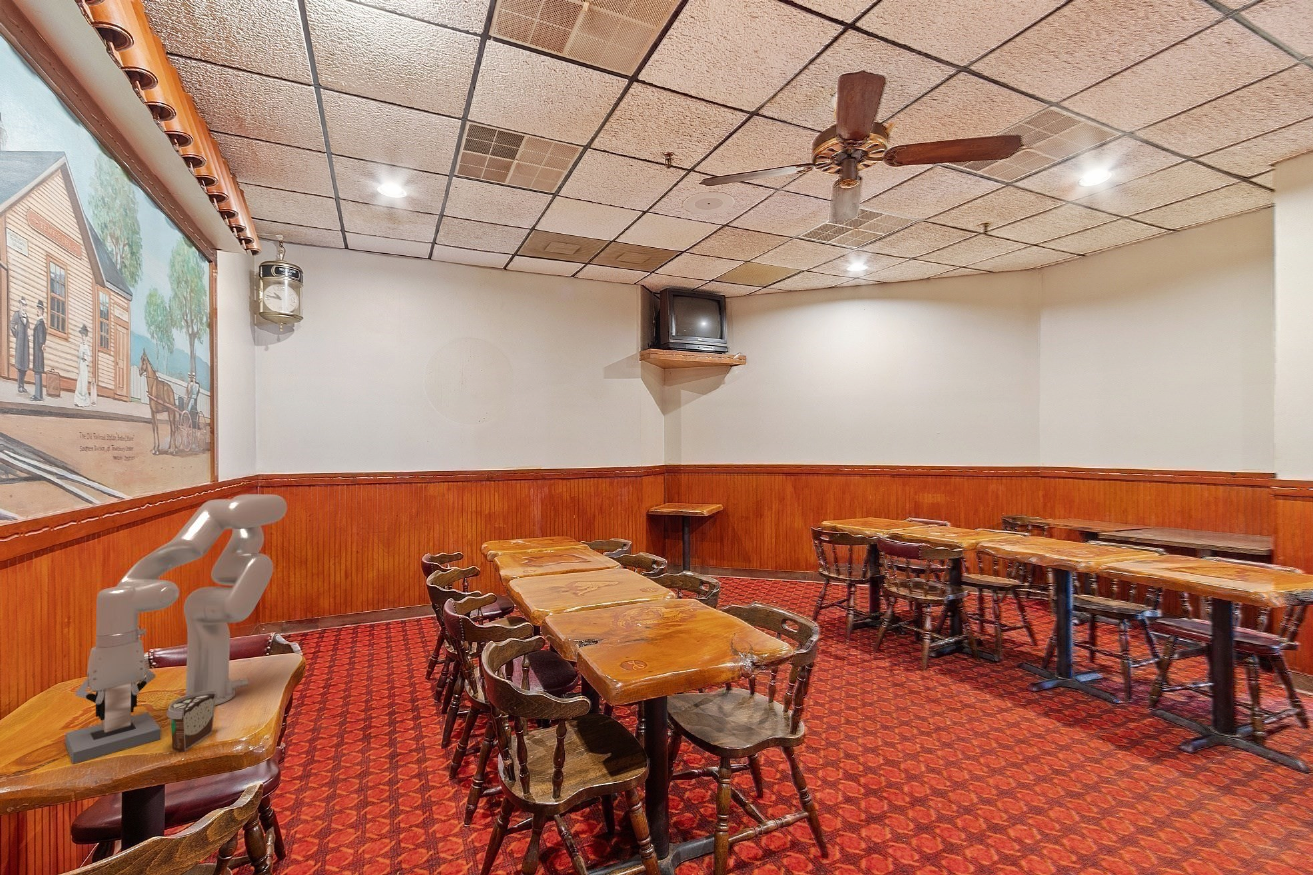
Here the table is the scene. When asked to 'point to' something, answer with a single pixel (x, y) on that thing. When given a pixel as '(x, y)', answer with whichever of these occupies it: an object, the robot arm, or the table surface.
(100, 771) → the table surface
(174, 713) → the food container
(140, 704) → the table surface
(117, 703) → the off-white block
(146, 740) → the charcoal pocket board
